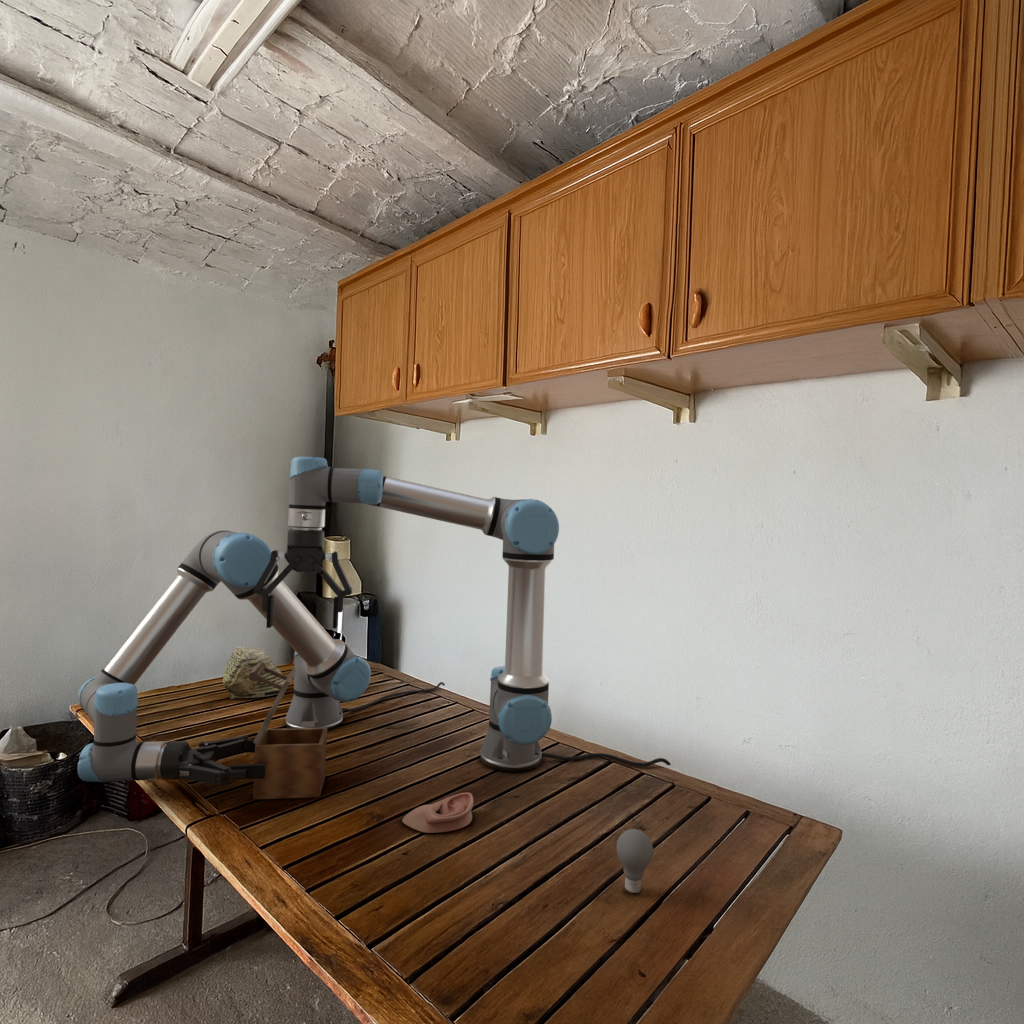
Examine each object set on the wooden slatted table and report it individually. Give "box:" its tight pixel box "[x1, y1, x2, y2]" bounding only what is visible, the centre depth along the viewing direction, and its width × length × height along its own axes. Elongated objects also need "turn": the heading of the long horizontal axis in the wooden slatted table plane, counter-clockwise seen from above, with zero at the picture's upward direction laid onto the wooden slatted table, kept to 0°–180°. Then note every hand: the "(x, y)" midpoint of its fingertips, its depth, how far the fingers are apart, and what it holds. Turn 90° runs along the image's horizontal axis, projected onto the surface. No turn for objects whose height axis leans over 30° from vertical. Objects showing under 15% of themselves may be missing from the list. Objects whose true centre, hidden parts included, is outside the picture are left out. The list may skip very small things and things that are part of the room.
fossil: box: [222, 646, 286, 699], centre depth 198 cm, size 9×18×15 cm, turn 132°
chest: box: [252, 728, 328, 800], centre depth 137 cm, size 13×10×11 cm
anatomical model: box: [401, 791, 474, 834], centre depth 126 cm, size 13×4×12 cm
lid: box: [249, 663, 296, 744], centre depth 136 cm, size 14×10×8 cm
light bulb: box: [615, 828, 654, 894], centre depth 106 cm, size 6×6×10 cm
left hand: (271, 757), depth 136 cm, fingers open, 13 cm apart
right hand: (302, 627), depth 137 cm, fingers open, 13 cm apart
